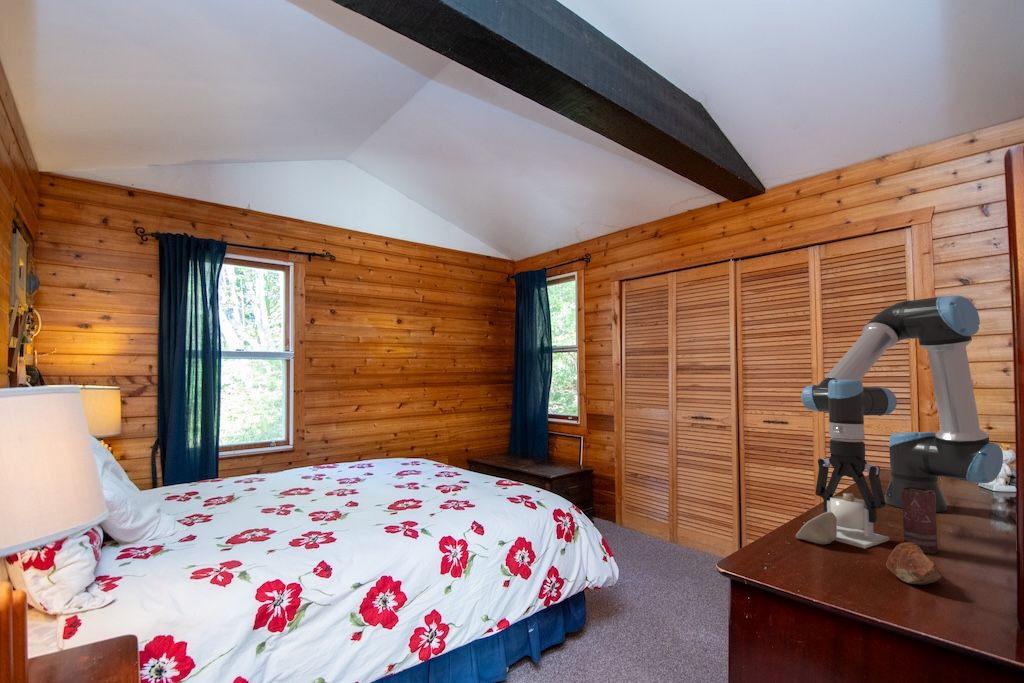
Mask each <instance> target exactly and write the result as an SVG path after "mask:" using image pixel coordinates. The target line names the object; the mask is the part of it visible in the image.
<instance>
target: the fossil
mask: <svg viewBox="0 0 1024 683" xmlns="http://www.w3.org/2000/svg"><path fill="white" fill-rule="evenodd" d="M885 566H886V569H888V570H890V572H891V574H893V575H895V577H897V578H898V579H899V580H901V581H902V582H904V583H907V584H911V585H929V584H933V583H935V582H937V581H939V580H941V579H942V577H943V574H942V573H941V572H940V571H939V569H938V566H937V565H936V564H935V563H934V562H933V561H932V560H931V559H930V558H929V557H928V556H927V554H924V552H923V551H922V550H921V548H920V547H919V546H918V545H917V544H915V543H908V542H906V543H904V542H900V543H898V544H897V545H896V546H895V547H894V548H893V549H892V551H891V552H890V554H889V555H888V558H887V560H886V563H885Z"/></svg>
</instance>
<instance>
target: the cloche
mask: <svg viewBox="0 0 1024 683" xmlns="http://www.w3.org/2000/svg"><path fill="white" fill-rule="evenodd" d="M864 508H867V506H866V504H865V502H864V499H861V498H857V497H855V494H854V493H851V492H850V493H849V492H843V493H842V496H839V495H837V496H833V497H831V498H830V510H831V512H832V513H833V514H834V515H835V516H836V519H837V524H836V525H837V526H840V527H844V528H850V529H859V530H864Z"/></svg>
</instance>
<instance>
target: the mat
mask: <svg viewBox="0 0 1024 683" xmlns="http://www.w3.org/2000/svg"><path fill="white" fill-rule="evenodd" d="M836 527H837V536H836V539H835V540H834V541H836V542H839V543H842V544H847V545H851V546H854V547H857V548H860V549H867V548H870V547H874V546H877V545H880V544H883V543H886V542H888V541H890V536H887V535H883V534H878V533H874V535H871V536H865V532H864V529H850V528H844V527H840V526H837V525H836Z"/></svg>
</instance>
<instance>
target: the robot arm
mask: <svg viewBox="0 0 1024 683" xmlns="http://www.w3.org/2000/svg"><path fill="white" fill-rule="evenodd" d="M980 324H981V320H980V315H979V312H978V310H977V308H976V306H975V304H974V303H973V302H972V301H971V300H969V299H968V298H967V297H965V296H962V295H941V296H935V297H927V298H921V299H913V300H912V299H911V300H903V301H900V302H896V303H894V304H891V305H889V306H888V307H886V308H885V309H883V310H882V311H880V312H879V313H876V315H875V316H873V317H872V318H871V319H870V320H869V321H868V322H867V323H866V324H865V325H864V326H863V328H862V330H861V333H862V334H861V335H860V337H859V338H858V339H857V340H856V341H855V342H854V343H853V345H852V346H851V347H850V348H849V349H848V350H847V352H846V353H845V354H844V355H843V356H842V357H840V359H839V361H838V362H837V363H836V364H835V365H834V366H833V367H832V368H831V370H830V371H829V372H828V373H827V374H826V375H825V377H824V378H823V379H822V380H821V381H820V382H819V384H817V385H816V384H813V385H808V386H805V387H804V388H803V390H802V392H801V396H800V397H801V398H800V400H801V403H802V404H803V406H804V408H805V409H807V410H809V411H813V412H814V411H815V412H819V413H828V417H829V418H828V426H829V427H828V428H829V431H828V432H829V437H830V438H831V439H830V440H829V453H830V457H828V458H825V457H823V458H818V459H817V464H818V473H817V481H816V488H815V491H814V492H815V493H814V494H815V495H816V496H818V497H821V498H822V499H823V511H824V513H825V512H831V510H830V498H831V497H834V494H836V491H837V488H838V486H839V484H840V481H841V480H842V478H843V477H848V478H851V479H852V480H853V482H855V484H856V487H857V488H858V490H859V492H860V495H861V497H862V500H864V502H865V504H866V506H867V508H864V529H863V531H864V532H865V536H871V535H874V523H877V522H878V509H882V508H883V509H884V508H885V507H886V505H890V506H892V507H896V508H899V509H903V506H902V491H903V489H904V488H907V487H911V488H921V489H927V490H932V491H934V492H935V495H936V513H942V512H943V513H944V512H946V511H948V508H947V507H948V505H947V501H946V498H945V496H944V494H943V492H942V489H941V486H940V484H939V478H938V477H941V478H947V479H953V480H958V481H964V482H967V483H978V484H989V483H993V481H995V480H996V479H997V478H998V476H999V475H1000V473H1001V472H1002V468H1003V463H1004V454H1003V450H1002V448H1001V446H1000V445H999V444H997V443H995V442H991V441H990V436H989V434H988V432H986V431H984V430H983V429H982V428H981V426H980V420H979V415H978V409H977V404H976V397H975V392H974V386H973V382H972V375H971V368H970V362H969V357H968V351H967V346H968V345H969V344H970V343H971V342H972V341H973V339H972V336H974V335H976V334H977V333H978V331H980V326H979V325H980ZM908 339H911V340H912V339H917V340H918V343H919V347H921V348H923V349H925V350H926V353H927V358H928V364H929V369H930V375H931V381H932V386H933V387H932V388H933V392H934V399H935V403H936V404H935V405H936V409H937V416H938V419H939V420H938V421H939V425H940V426H939V427H940V429H939V430H938V431H937V432H935V431H910V432H908V431H906V432H893V433H891V434H890V435H889V443H888V448H889V464H890V465H889V467H890V469H889V470H890V480H889V482H888V485H887V489H886V491H885V494H884V491H883V487H882V483H881V482H882V481H881V477H880V473H881V467H880V466H879V465H876V466H875V465H872V464H868V462H867V460H866V445H865V444H866V443H865V442H864V441H863V440H865V438H866V436H865V434H866V433H865V419H864V418H865V416H879V417H882V416H884V415H886V416H887V415H890V414H891V413H892V412H894V411H895V410H896V407H897V404H898V401H897V397H896V394H895V393H894V392H893V391H892V390H891V389H889V388H887V387H883V386H882V387H881V386H864V385H863V382H862V381H861V380H862V379H863V378H864V377H865V376H866V374H867V373H868V372H869V371H870V370H871V368H872V367H873V366H874V365H875V364H876V363H877V361H878V360H879V359H880V357H881V356H882V355H883V354H884V353H885V352H886V350H887V349H890V348H892V347H894V346H896V345H897V344H898V343H899V342H900V341H904V340H908ZM830 466H831V467H832V468H833V470H832V472H831V477H830V478H829V481H828V475H829V471H830V470H829V467H830ZM865 470H866V473H867V474H868V479H869V484H870V488H871V489H870V488H869V486H868V483H867V481H866V476H865V474H864V471H865Z"/></svg>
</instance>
